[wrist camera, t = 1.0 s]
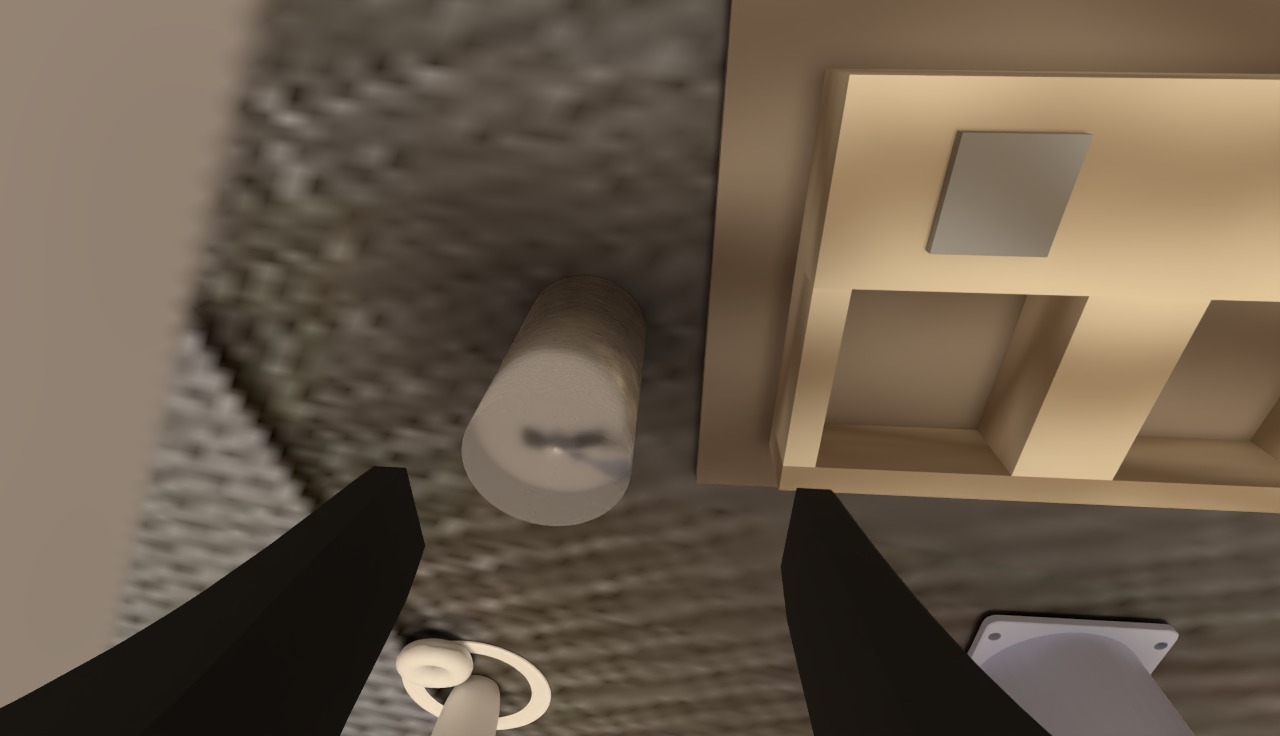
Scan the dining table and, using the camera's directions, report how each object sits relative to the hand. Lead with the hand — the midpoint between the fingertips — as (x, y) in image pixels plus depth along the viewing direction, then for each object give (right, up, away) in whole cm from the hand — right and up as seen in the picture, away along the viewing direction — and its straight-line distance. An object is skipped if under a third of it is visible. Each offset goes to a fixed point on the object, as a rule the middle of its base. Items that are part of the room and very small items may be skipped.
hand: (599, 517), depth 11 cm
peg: (-1, +4, +9) cm, 10 cm away
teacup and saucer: (-6, -12, +19) cm, 23 cm away
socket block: (+14, +5, +7) cm, 16 cm away
